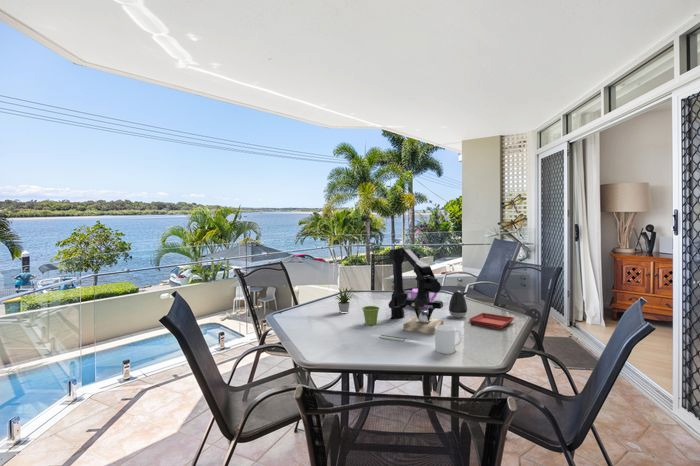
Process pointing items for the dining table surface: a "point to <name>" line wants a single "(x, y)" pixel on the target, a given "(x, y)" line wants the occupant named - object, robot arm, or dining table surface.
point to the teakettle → (414, 294)
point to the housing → (422, 325)
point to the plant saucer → (491, 320)
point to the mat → (392, 338)
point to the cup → (446, 339)
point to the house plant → (344, 300)
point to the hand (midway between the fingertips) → (423, 319)
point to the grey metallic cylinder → (423, 317)
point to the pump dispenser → (458, 304)
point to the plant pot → (370, 314)
